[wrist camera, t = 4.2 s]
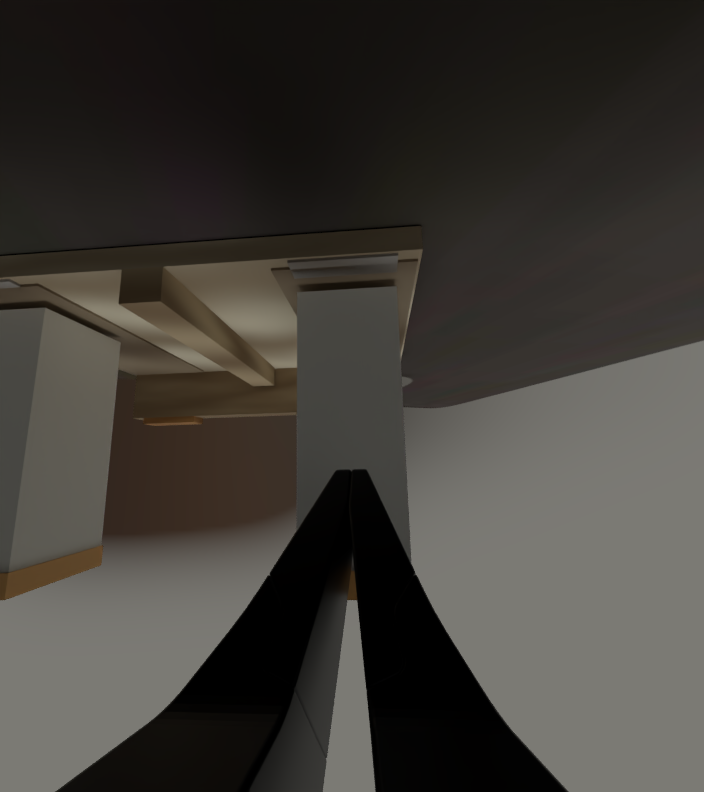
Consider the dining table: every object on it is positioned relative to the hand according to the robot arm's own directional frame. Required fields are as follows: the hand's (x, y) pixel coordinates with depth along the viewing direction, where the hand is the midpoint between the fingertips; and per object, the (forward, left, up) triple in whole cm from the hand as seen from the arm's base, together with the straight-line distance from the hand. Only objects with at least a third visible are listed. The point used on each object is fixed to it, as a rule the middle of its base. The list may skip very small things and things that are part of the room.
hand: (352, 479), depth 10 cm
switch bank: (0, -10, -8) cm, 12 cm away
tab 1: (-7, -12, -6) cm, 15 cm away
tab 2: (+2, -3, -6) cm, 7 cm away
